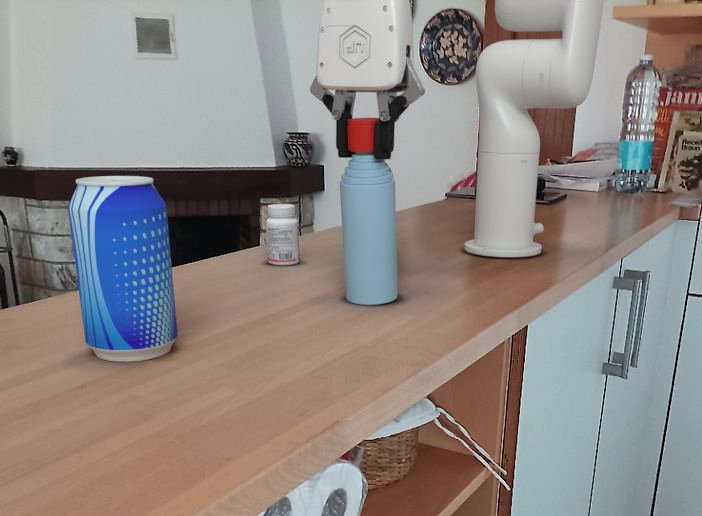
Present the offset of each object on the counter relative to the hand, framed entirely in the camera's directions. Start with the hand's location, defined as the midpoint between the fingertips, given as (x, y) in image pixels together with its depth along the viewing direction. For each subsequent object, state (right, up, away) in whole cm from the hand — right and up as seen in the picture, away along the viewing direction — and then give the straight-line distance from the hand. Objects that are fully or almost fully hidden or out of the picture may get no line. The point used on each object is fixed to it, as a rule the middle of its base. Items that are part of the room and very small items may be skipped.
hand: (364, 156), depth 89 cm
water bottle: (+1, -15, +7) cm, 17 cm away
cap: (0, +1, 0) cm, 1 cm away
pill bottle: (-13, -7, +28) cm, 32 cm away
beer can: (-22, -23, -14) cm, 35 cm away
